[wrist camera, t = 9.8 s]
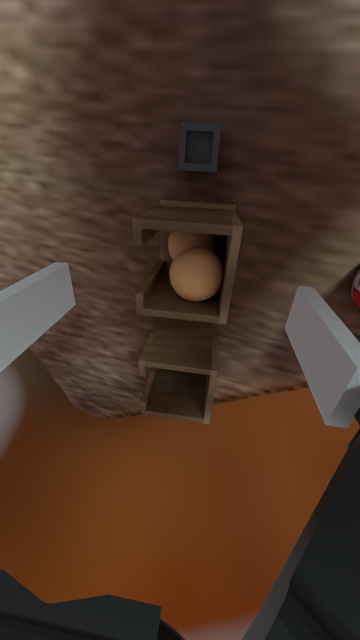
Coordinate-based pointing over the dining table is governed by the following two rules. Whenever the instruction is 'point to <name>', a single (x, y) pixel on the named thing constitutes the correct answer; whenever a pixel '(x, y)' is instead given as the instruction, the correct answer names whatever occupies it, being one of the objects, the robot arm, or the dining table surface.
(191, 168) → the rubber stand
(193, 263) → the brown ball
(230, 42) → the dining table surface
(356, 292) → the soda can
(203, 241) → the brown ball in tube
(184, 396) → the rack
